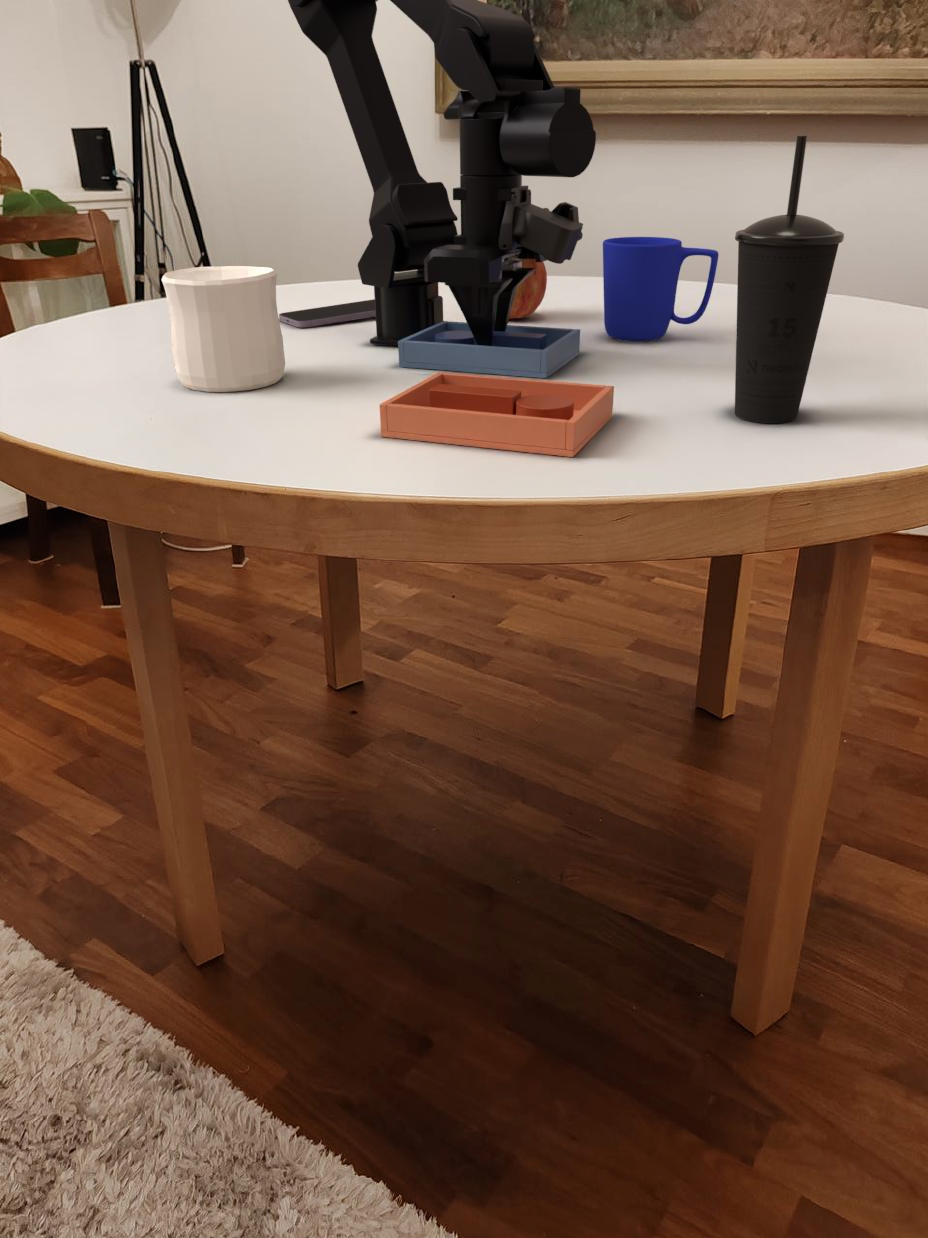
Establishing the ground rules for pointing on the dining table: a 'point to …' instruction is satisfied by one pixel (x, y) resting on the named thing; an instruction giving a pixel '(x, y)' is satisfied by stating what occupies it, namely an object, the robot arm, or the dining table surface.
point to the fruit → (530, 290)
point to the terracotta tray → (498, 416)
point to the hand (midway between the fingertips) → (491, 346)
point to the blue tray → (489, 352)
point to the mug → (646, 286)
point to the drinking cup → (780, 305)
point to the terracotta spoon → (501, 401)
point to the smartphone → (329, 314)
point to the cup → (225, 327)
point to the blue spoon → (496, 339)
